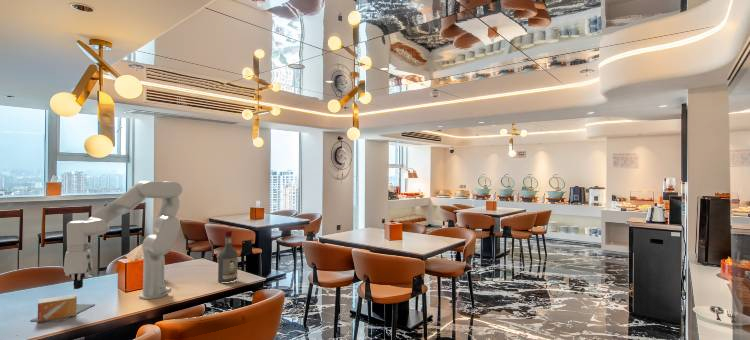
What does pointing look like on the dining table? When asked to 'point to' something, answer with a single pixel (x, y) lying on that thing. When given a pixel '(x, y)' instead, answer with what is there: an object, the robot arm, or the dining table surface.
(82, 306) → the mat
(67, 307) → the small box
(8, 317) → the dining table surface
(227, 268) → the liquor
